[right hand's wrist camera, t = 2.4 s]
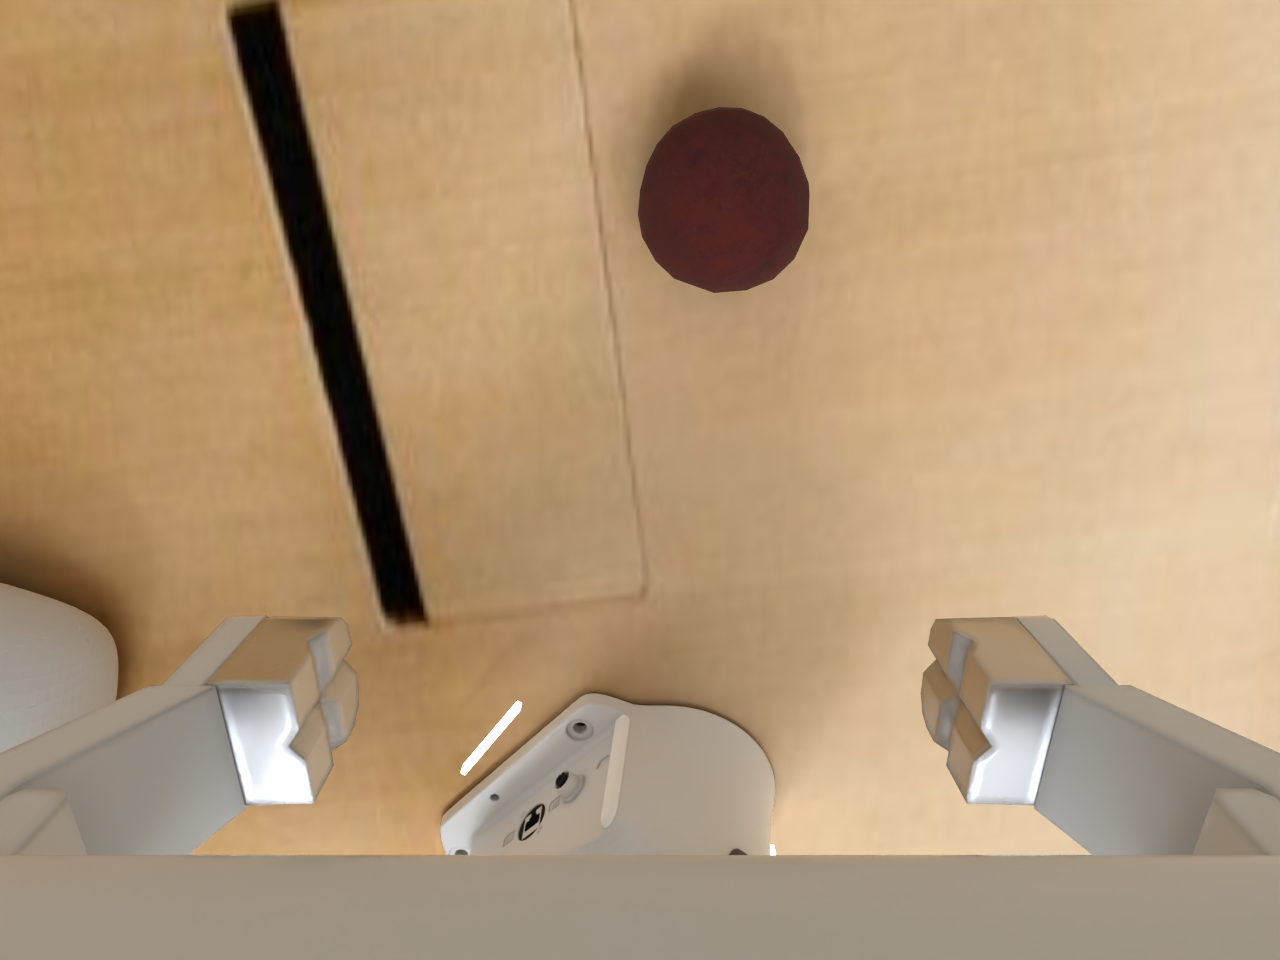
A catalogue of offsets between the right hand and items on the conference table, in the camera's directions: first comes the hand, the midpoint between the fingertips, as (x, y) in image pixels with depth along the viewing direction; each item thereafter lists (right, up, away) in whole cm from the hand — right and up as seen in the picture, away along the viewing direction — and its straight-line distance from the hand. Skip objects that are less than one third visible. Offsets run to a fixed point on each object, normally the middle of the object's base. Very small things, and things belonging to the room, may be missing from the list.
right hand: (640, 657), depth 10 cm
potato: (+4, +16, +26) cm, 30 cm away
